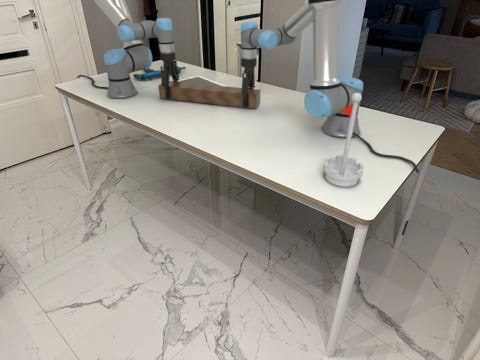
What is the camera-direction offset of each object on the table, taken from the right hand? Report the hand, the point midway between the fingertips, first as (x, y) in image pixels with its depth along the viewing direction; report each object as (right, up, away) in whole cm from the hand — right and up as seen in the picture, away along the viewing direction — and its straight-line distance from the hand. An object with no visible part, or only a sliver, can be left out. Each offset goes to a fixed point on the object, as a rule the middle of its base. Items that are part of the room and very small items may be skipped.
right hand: (248, 103), depth 174 cm
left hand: (-41, +7, +10) cm, 43 cm away
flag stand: (+31, -39, -56) cm, 75 cm away
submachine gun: (-58, +31, +51) cm, 84 cm away
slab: (-21, +3, +6) cm, 22 cm away
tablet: (-28, +18, +31) cm, 45 cm away
